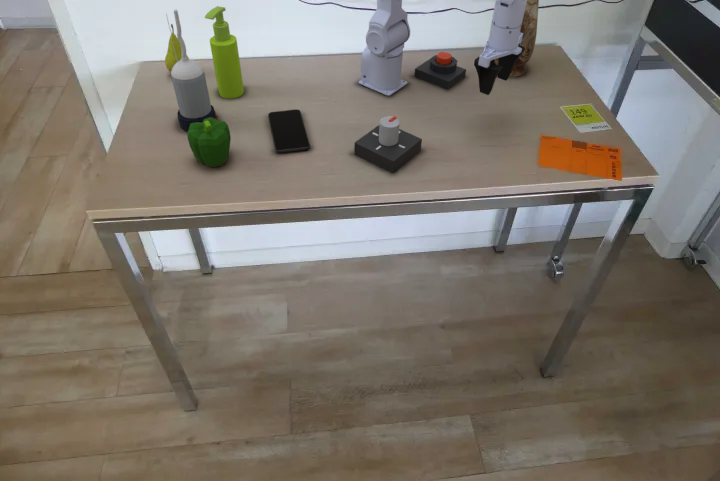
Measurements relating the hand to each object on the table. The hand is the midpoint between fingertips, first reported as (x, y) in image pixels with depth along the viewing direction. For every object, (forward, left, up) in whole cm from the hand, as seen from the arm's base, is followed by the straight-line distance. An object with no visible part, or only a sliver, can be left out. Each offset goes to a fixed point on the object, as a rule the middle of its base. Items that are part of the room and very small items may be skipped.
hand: (493, 85), depth 118 cm
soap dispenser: (-54, -27, -10) cm, 61 cm away
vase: (-9, +27, -10) cm, 30 cm away
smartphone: (-32, -30, -10) cm, 45 cm away
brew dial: (-11, -22, -7) cm, 25 cm away
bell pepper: (-37, -47, -10) cm, 61 cm away
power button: (-20, +13, -7) cm, 25 cm away
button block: (-20, +12, -10) cm, 25 cm away
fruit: (-70, -29, -10) cm, 76 cm away
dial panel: (-11, -22, -10) cm, 27 cm away
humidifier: (-50, -40, -10) cm, 65 cm away
